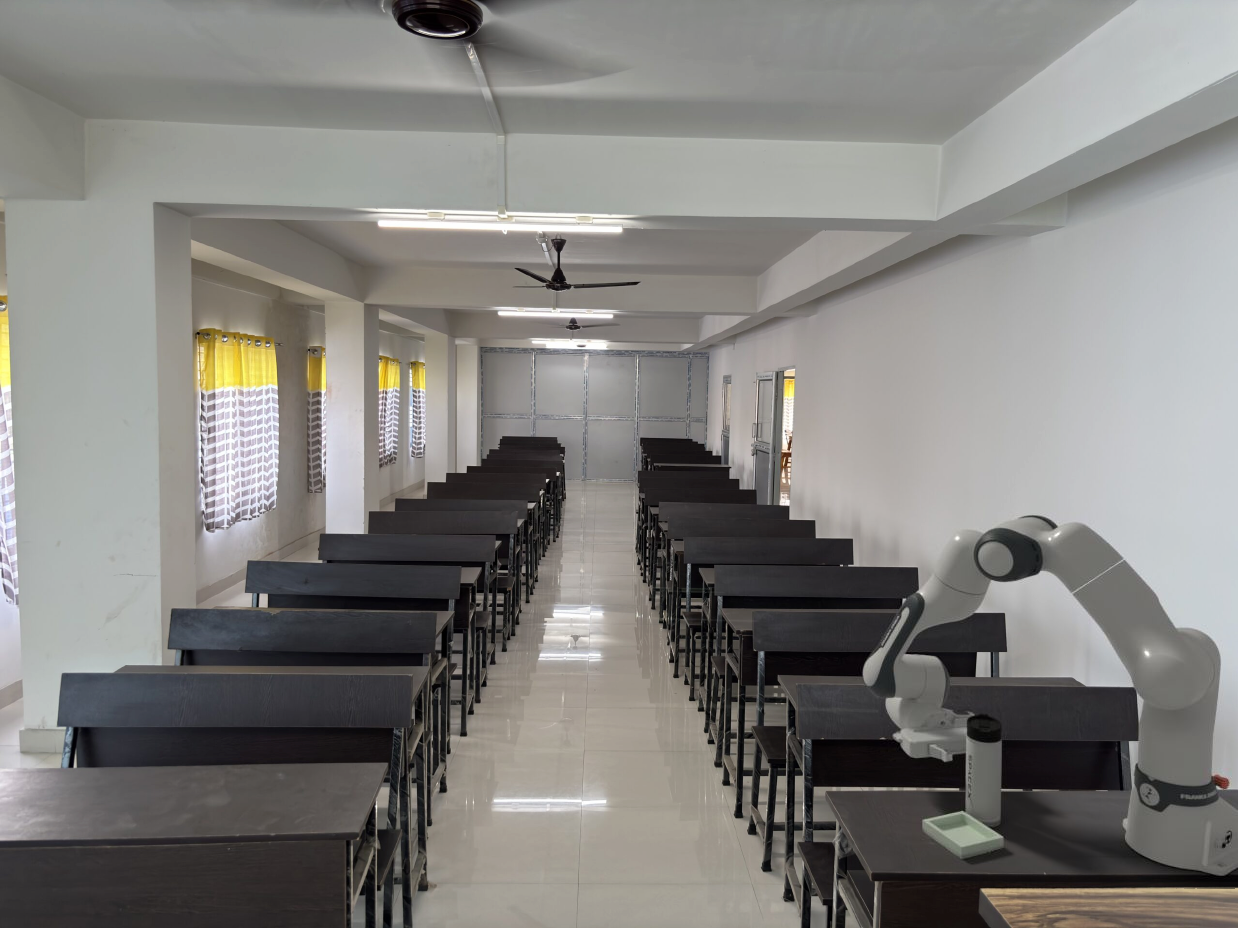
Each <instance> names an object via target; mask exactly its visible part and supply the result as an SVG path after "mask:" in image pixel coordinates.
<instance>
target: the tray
mask: <svg viewBox="0 0 1238 928" xmlns="http://www.w3.org/2000/svg"><path fill="white" fill-rule="evenodd" d="M921 821H922V822H921V823H922V832H923V833H924V834H925V835H927V836H929V838H931V839H933V840H934V841H936V842H937V843H938V844H939V845H941V846H943V847H944V848H946V849H947V850H948V851H949V852H951V853H952V854H953V855H955V856H956V857H958V859H960V860H963V859H967V858H971V857H976V856H979V855H984V854H988V853H991V851H993V852H995V851H994V850H997V849H1000V848H1003V849H1004V841H1005V840H1004V836H1002V835H1001V834H1000V833H998V832H997V831H995V830H993V829H992V828H989V827H987V826H985V825H984V824H982V823H981V822H979V821H978V820H976V819H975V818H973V817H971V816H970V815H968V814H967V813H965V811H963V810H961V811H956V812H952V813H948V814H943V815H939V816H934V817H930V818H925V819H922V820H921ZM997 851H998V850H997ZM987 852H988V853H987Z"/></svg>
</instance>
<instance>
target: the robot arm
mask: <svg viewBox="0 0 1238 928" xmlns="http://www.w3.org/2000/svg"><path fill="white" fill-rule="evenodd" d="M1041 572H1047V573H1050V574H1052V575H1053V576H1055V577H1056V578H1057V579H1058V580H1059V581H1060V582H1061V583H1062V584H1063V585H1064V586H1065V588H1066V589H1067V590H1068V591H1069V593H1070V594H1071V595H1072V596H1073V597H1074V599H1076V601H1077V602H1078V603H1079V604H1080V606H1081V607H1082V608H1083V609H1084V610H1085V612H1087V614H1088V615H1089V616H1090V617H1091V618H1092V619H1093V621H1094V622H1095V623H1096V625H1097V626H1098V627H1099V628H1100V629H1101V631H1102V632H1103V634H1104V635H1105V637H1106V638H1107V640H1108V641H1109V643H1110V645H1111V646H1112V648H1113V651H1114V652H1115V653H1116V655H1117V656H1118V658H1119V660H1120V662H1121V663H1122V665H1123V666H1124V667H1125V670H1126V671H1127V673H1128V674H1129V676H1130V678H1131V679H1130V680H1131V682H1132V685H1133V688H1134V690H1135V691H1136V694H1138V696H1139V697H1141V699H1142V700H1143V702H1142V709H1141V713H1140V718H1139V721H1138V738H1137V739H1138V744H1137V745H1138V747H1137V763H1135V764H1134V765H1135V766H1134V771H1133V776H1134V777H1133V778H1134V779H1133V780H1134V782H1133V784H1134V785H1133V786H1132V788H1131V791H1130V798H1129V802H1128V803H1129V805H1128V812H1127V818H1123V821H1122V827H1123V828H1124V830H1125V835H1124V839H1125V842H1126V843H1127V845H1128V846H1129V847H1130V848H1131V849H1133V850H1134V851H1135V852H1137V853H1138V854H1140V855H1142V856H1144V857H1145V858H1147V859H1150V860H1152V861H1155V862H1157V863H1159V864H1162V865H1166V866H1170V867H1175V868H1178V869H1185V870H1193V871H1201V872H1204V873H1208V874H1212V875H1215V876H1226V875H1228V874H1229V873H1231V872H1232V871H1234V870H1236V869H1238V810H1237V809H1236V808H1235V807H1233V805H1231V804H1230V803H1228V802H1227V801H1226V800H1225V799H1224V798H1222V797H1221V796H1220V795H1219V793H1218V792H1219V791H1218V788H1217V787H1219V788H1220V789H1222V790H1227V789H1228V788H1229V787H1230V780H1229V778H1227V777H1224V776H1221V775H1219V774H1215V775H1212V774H1213V772H1212V771H1213V751H1214V750H1213V749H1214V747H1213V745H1214V732H1215V724H1216V716H1217V708H1218V701H1219V689H1220V678H1221V667H1222V664H1221V663H1222V659H1221V653H1220V650H1219V648H1218V646H1217V644H1216V642H1215V641H1214V640H1213V638H1211V637H1210V636H1209V635H1208V634H1206V633H1205V632H1203V631H1202V630H1199V629H1196V628H1192V627H1176V626H1175V625H1174V623H1173V622H1172V620H1171V619H1170V616H1168V614H1167V612H1166V611H1165V609H1164V607H1163V606H1162V604H1161V601H1160V600H1159V597H1158V595H1157V594H1156V592H1155V591H1154V590H1153V589H1152V588H1151V586H1150V585H1148V584H1147V582H1146V581H1145V580H1144V578H1142V577H1141V576H1140V575H1139V573H1137V572H1136V570H1135V569H1134V567H1132V566H1131V565H1130V564H1129V562H1128V561H1127V560H1126V559H1124V557H1123V556H1122V555H1121V554H1120V552H1119V551H1117V550H1116V549H1115V548H1114V547H1113V546H1112V545H1111V544H1110V543H1109V542H1108V541H1107V540H1106V539H1104V537H1102V536H1101V535H1100V534H1098V533H1097V532H1096V531H1095V530H1093V529H1092V528H1091V527H1090V526H1087V524H1084V523H1082V522H1078V521H1077V522H1068V523H1064V524H1061V525H1057V524H1056V523H1055V522H1054V520H1052V519H1050V518H1047V517H1045V516H1042V515H1037V514H1036V515H1035V514H1031V515H1023V516H1021V517H1018V518H1016V519H1013V520H1011V519H1010V520H1006V521H1004V522H1002V523H1000V524H998V525H996V526H995V527H994V528H991V529H988V530H986V531H985V533H984V532H981V531H979V530H974V529H963V530H960V531H957V532H956V533H954V534H953V535H952V536H951V538H950V539H949V541H948V542H947V543H946V545H945V546H944V548H943V550H942V552H941V554H940V556H939V558H938V560H937V562H936V564H935V567H934V570H933V572H932V573H931V575H930V577H929V578H928V579H927V581H926V582H925V583H924V585H922V587H921V588H919V589H918V590H917V591H916V592H914V593H913V594H910V595H909V596H908V597H907V598H906V599H905V600H904V602H903V603H902V604H901V605H900V608H899V609H898V611H897V613H896V614H895V616H894V618H893V619H892V621H891V623H890V624H889V627H888V628H887V630H886V631H885V633H884V634H883V636H882V638H881V640H880V641H879V643H878V645H877V646H876V647H875V648H874V650H873V651H872V652H871V653H870V654H869V656H868V657H867V658H866V659H865V662H864V664H863V667H862V672H861V673H862V681H863V683H864V686H865V688H867V689H868V690H869V692H870V693H871V694H872V695H873V696H875V697H876V698H877V699H885V708H886V711H887V715H888V716H889V717H890V719H891V721H892V722H893V723H894V724H895V725H896V726H897V727H898V728H899V729H900V730H898V731H896V732H894V733H893V734H892V737H893V739H894V740H895V741H896V742H898V743H900V747H901V749H902V750H903V751H904V752H905V753H906V755H908V756H909V757H911V758H915V759H919V758H931V757H932V758H936V759H938V760H941V761H943V762H944V763H947V762H948V763H949V762H953V755H963V754H966V738H967V737H966V734H967V719H968V718H969V717H971V716H974V715H975V713H973V712H971V711H965V710H954V709H947V708H945V707H943V706H944V705H945V703H946V701H947V699H948V696H949V693H950V690H951V678H950V674H949V672H948V669H947V668H946V666H945V664H944V663H943V661H942V660H941V659H940V658H938V657H937V656H936V655H925V654H907V653H906V652H907V651H908V650H909V649H908V648H910V645H912V643H913V641H914V639H915V638H916V636H917V635H918V634H919V633H921V632H923V631H924V630H926V629H928V628H931V627H935V626H939V625H942V624H947V623H953V622H958V621H962V620H965V619H966V618H968V617H971V616H973V614H975V612H976V611H977V610H978V609H979V608H980V607H981V605H982V603H983V602H984V599H985V597H986V594H987V592H988V590H989V587H990V585H991V582H992V581H993V582H999V583H1009V582H1011V583H1012V582H1017V581H1021V580H1023V579H1026V578H1030V577H1034V576H1037V575H1039V574H1040V573H1041Z"/></svg>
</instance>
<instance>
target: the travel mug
mask: <svg viewBox="0 0 1238 928" xmlns="http://www.w3.org/2000/svg"><path fill="white" fill-rule="evenodd" d="M1002 727H1003V724H1002V722H1001V721H1000V720H999V719H997V718H996V717H992V716H989V713H988V714H987V713H981V712H979V713H978V714H977V715H975V714H974V716H971V717H969V718H968V719H967V734H966V737H967V738H966V753H965V806H964V807H965V811H964V812H965V813H967V814H968V815H970V816H971V817H973V818H975V819H976V820H978V821H979V822H981V823H982V824H984V825H985V826H987V827H992V828H996V827H998V826H1000V824H1001V821H1002V820H1001V817H1002V816H1001V812H1002V755H1003V754H1002V751H1003V750H1002V749H1003V748H1002V746H1003V743H1002V741H1003V737H1002V736H1003V735H1002V734H1003V733H1002V729H1003V728H1002Z"/></svg>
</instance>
